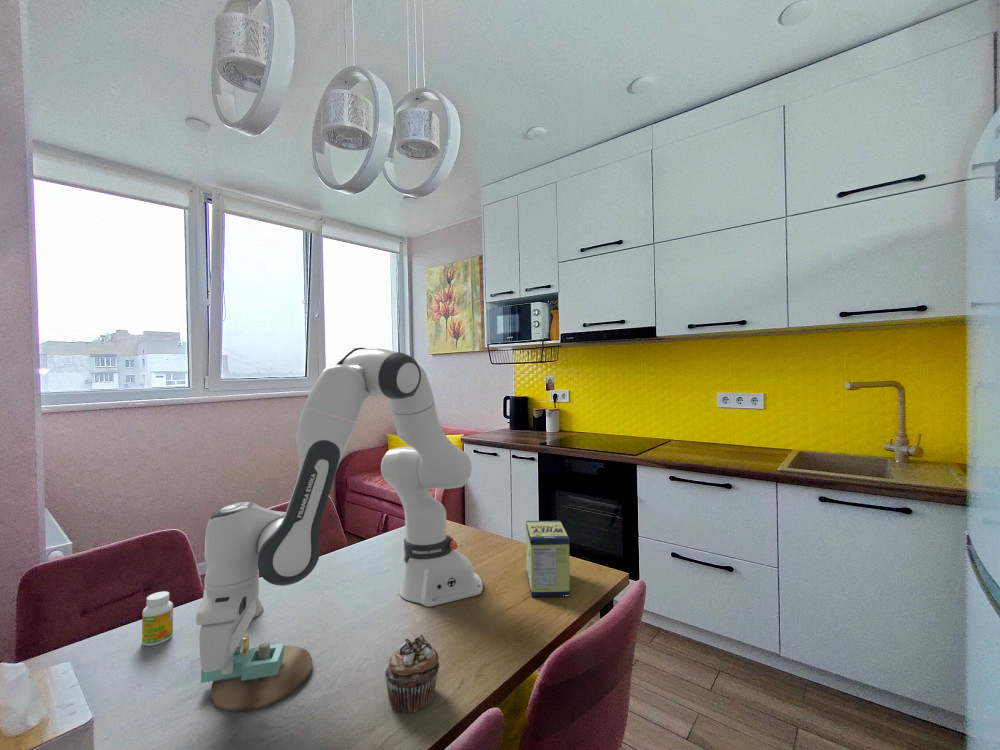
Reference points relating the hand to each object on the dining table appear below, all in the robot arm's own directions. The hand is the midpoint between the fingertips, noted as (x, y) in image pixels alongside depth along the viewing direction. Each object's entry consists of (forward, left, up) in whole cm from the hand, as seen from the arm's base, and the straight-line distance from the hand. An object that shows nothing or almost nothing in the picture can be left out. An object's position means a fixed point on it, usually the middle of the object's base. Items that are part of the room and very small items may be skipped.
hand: (232, 664), depth 82 cm
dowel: (-1, -6, -2) cm, 6 cm away
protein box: (-72, -21, -4) cm, 75 cm away
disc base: (-5, 0, -4) cm, 6 cm away
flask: (+5, -27, -4) cm, 28 cm away
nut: (-2, 0, -2) cm, 2 cm away
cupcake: (-32, +13, -4) cm, 35 cm away
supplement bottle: (+21, -21, -4) cm, 30 cm away
